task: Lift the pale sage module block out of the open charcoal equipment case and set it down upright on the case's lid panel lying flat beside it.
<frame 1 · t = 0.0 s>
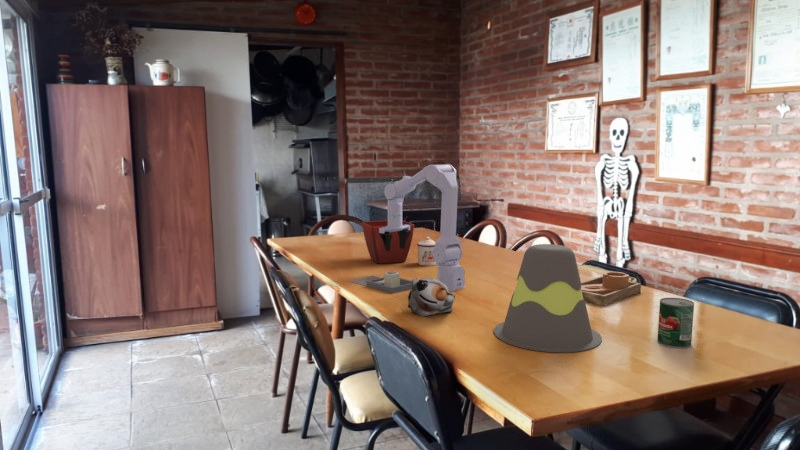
hand: (395, 249, 223), 10 cm above the table, tool pointing down, fingers open, 7 cm apart
canned tomato: (674, 343, 146), on the table
grey brimmed hat: (546, 335, 153), on the table
module: (391, 286, 203), resting on case
fitting cradle: (602, 294, 194), on the table
case: (391, 288, 203), on the table
grey lumpy rounded piece: (432, 313, 173), on the table
brown cup and saucer: (602, 295, 194), resting in fitting cradle
plant pot: (387, 260, 253), on the table
teacup with lid: (430, 264, 246), on the table
lid panel: (368, 282, 213), on the table
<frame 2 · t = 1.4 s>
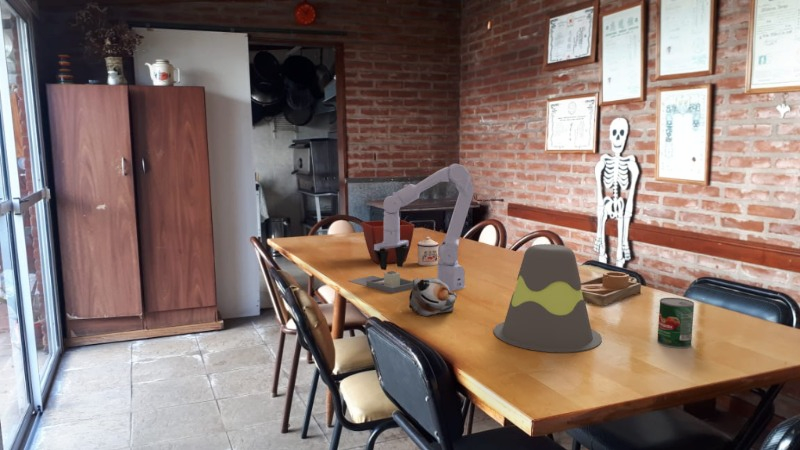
hand: (391, 268, 202), 7 cm above the table, tool pointing down, fingers open, 7 cm apart
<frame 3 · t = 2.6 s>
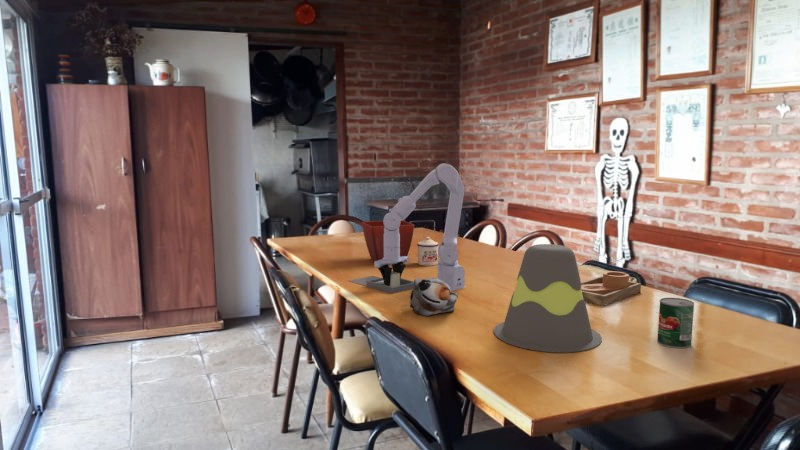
hand: (391, 284, 203), 1 cm above the table, tool pointing down, fingers closed on module, 4 cm apart
module: (391, 286, 203), resting on case, touching gripper
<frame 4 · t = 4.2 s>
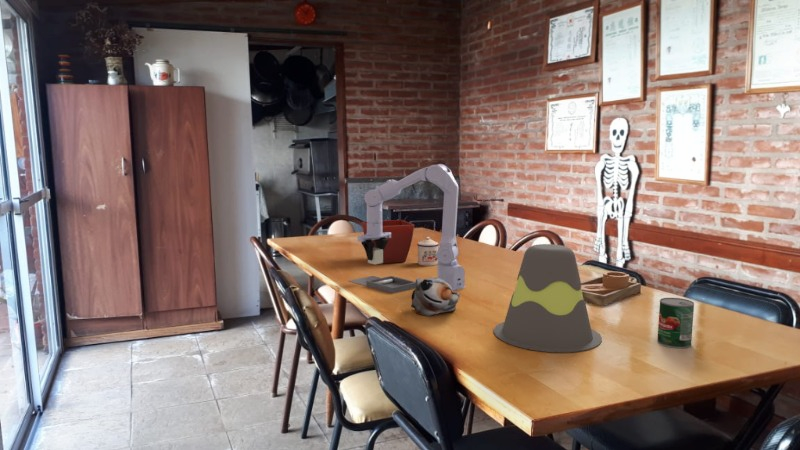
hand: (374, 259, 210), 9 cm above the table, tool pointing down, fingers closed on module, 4 cm apart
module: (375, 262, 210), point 8 cm above the table, touching gripper
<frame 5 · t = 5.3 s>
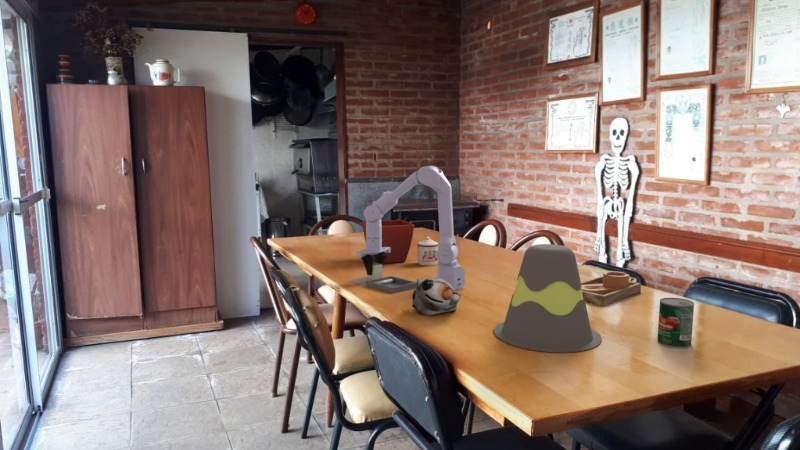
hand: (374, 273, 212), 3 cm above the table, tool pointing down, fingers closed on module, 4 cm apart
module: (374, 277, 211), point 2 cm above the table, touching gripper
when the fingers open (3 cm above the table, at t = 5.9 s): module stays where it is, resting on lid panel.
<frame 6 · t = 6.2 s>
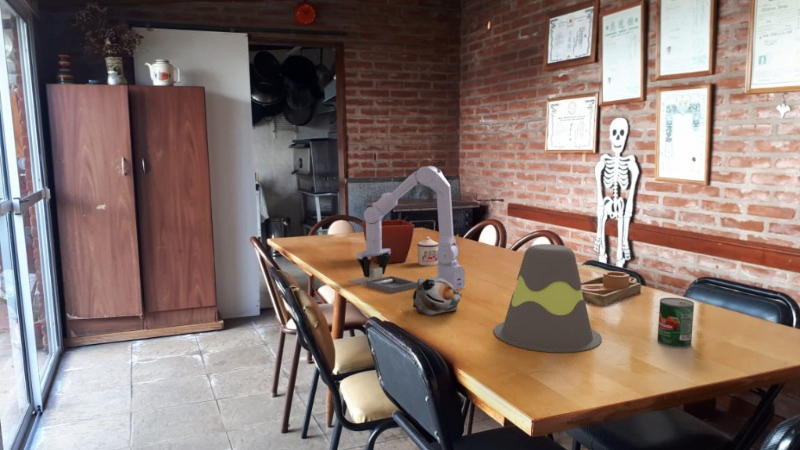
hand: (374, 275, 212), 3 cm above the table, tool pointing down, fingers open, 7 cm apart
module: (374, 281, 212), point 1 cm above the table, touching lid panel
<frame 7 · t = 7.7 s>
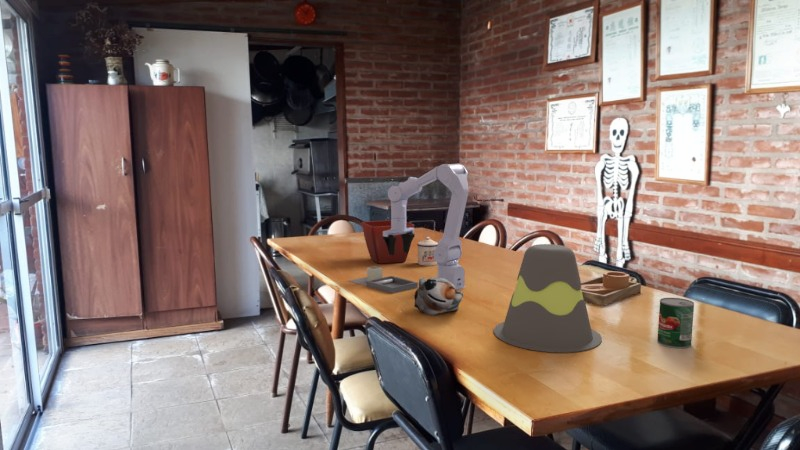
hand: (398, 253, 216), 10 cm above the table, tool pointing down, fingers open, 7 cm apart
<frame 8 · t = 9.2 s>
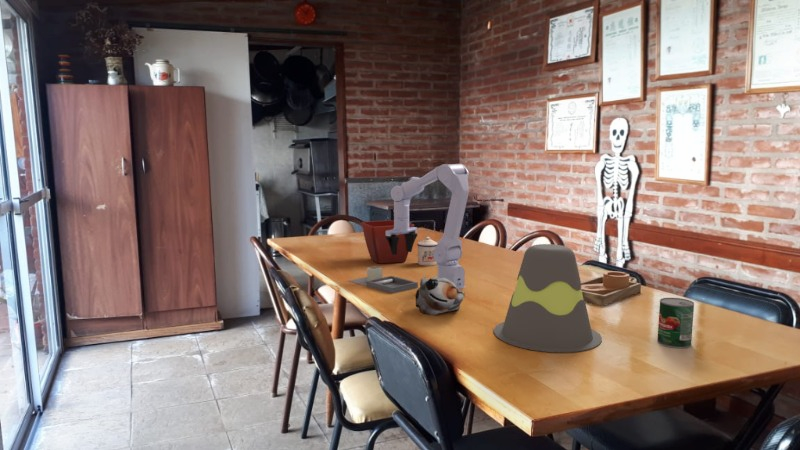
hand: (401, 252, 217), 10 cm above the table, tool pointing down, fingers open, 7 cm apart
at the end: module inside the target area on the lid panel (1.6 cm from its centre), point 0.6 cm above the lid panel's base; module tilted 0°; the gripper is holding nothing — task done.
